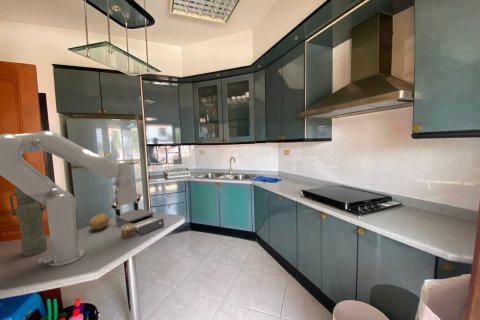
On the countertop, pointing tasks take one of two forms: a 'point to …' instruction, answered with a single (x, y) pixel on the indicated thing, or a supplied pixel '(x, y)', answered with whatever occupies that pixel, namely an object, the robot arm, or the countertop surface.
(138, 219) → the box
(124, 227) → the disc
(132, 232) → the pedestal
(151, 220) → the tray
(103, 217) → the potato
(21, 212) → the thermos
